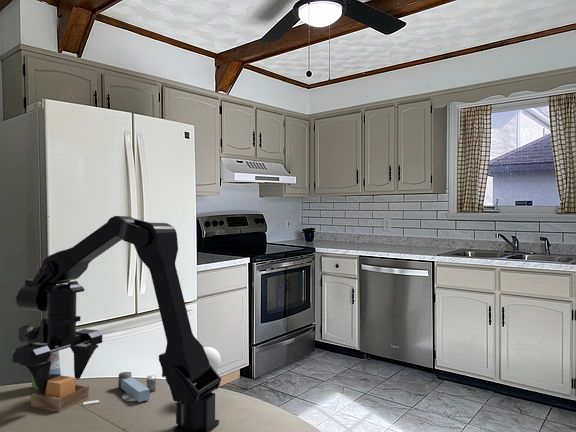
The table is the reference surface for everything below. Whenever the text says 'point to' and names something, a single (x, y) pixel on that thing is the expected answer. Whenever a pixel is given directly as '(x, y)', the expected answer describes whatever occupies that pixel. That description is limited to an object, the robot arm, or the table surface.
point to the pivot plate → (127, 397)
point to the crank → (133, 387)
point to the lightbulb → (213, 357)
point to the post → (151, 383)
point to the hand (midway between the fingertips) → (60, 385)
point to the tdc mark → (91, 402)
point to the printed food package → (53, 368)
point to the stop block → (60, 386)
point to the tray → (60, 399)
